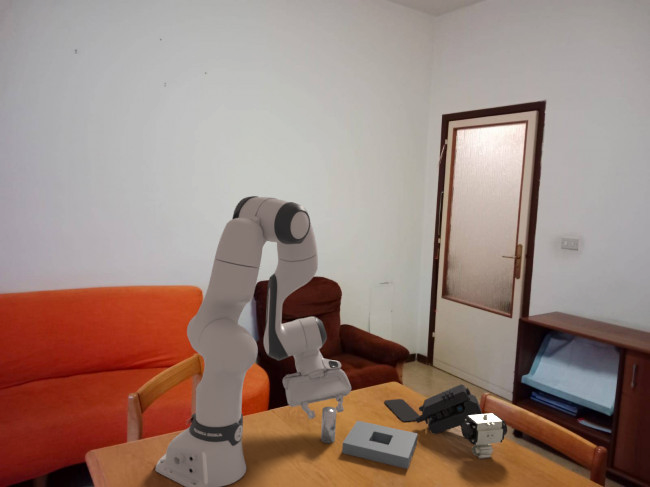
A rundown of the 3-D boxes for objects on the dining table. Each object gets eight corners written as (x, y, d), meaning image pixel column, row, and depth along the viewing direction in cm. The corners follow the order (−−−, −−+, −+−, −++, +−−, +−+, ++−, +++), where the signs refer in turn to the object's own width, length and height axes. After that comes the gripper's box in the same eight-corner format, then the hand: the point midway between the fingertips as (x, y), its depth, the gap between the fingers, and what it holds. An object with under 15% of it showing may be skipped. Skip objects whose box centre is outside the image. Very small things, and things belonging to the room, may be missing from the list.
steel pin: (318, 441, 136) (320, 411, 135) (323, 434, 140) (325, 405, 139) (332, 444, 135) (333, 414, 134) (336, 437, 138) (338, 408, 137)
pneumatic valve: (458, 453, 133) (461, 412, 132) (495, 449, 136) (498, 408, 135) (469, 464, 128) (472, 421, 127) (507, 459, 131) (511, 418, 130)
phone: (402, 421, 150) (382, 400, 164) (402, 424, 150) (382, 402, 164) (423, 419, 152) (402, 398, 166) (423, 421, 152) (402, 401, 166)
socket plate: (342, 453, 130) (342, 442, 130) (356, 430, 144) (357, 420, 143) (407, 469, 124) (408, 458, 124) (416, 443, 137) (417, 433, 137)
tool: (492, 433, 139) (469, 387, 139) (431, 455, 144) (409, 411, 144) (489, 423, 145) (467, 379, 145) (431, 445, 150) (410, 402, 150)
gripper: (284, 371, 138) (298, 417, 130) (344, 361, 148) (360, 404, 141) (277, 380, 142) (290, 426, 135) (336, 370, 152) (351, 412, 145)
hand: (326, 414), depth 138 cm, fingers open, 8 cm apart
